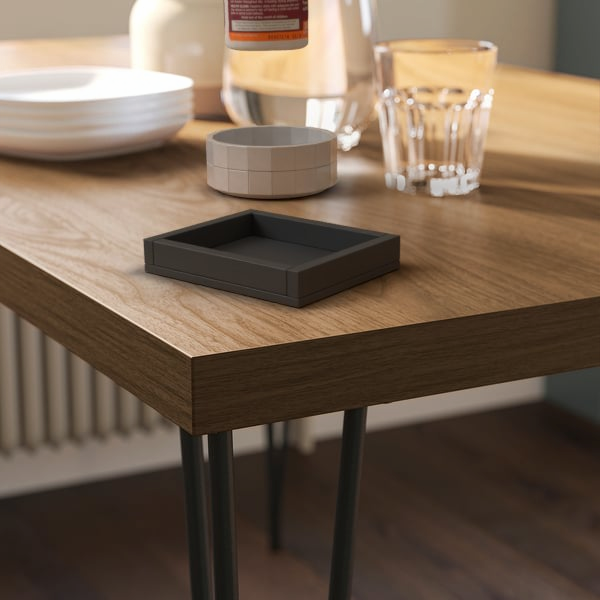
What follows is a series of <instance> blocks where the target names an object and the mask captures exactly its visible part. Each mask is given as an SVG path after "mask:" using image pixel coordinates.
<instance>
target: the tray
mask: <svg viewBox="0 0 600 600" xmlns="http://www.w3.org/2000/svg"><path fill="white" fill-rule="evenodd" d="M142 241H143V243H142V244H143V261H144V272H146V273H150V274H154V275H159V276H162V277H167V278H171V279H175V280H179V281H184V282H187V283H188V282H189V283H192V284H196V285H200V286H205V287H210V288H213V289H217V290H220V291H221V290H222V291H226V292H229V293H234V294H239V295H243V296H248V297H251V298H256V299H260V300H264V301H268V302H273V303H277V304H281V305H284V306H289V307H294V308H302V307H305V306H307V305H309V304H312V303H314V302H317V301H319V300H320V301H321V300H322V299H324V298H327V297H329V296H333V295H334V294H337V293H340V292H343V291H345V290H348V289H350V288H352V287H353V288H354V287H355V286H357V285H360V284H364V283H365V282H367V281H371V280H372V279H375V278H379V277H381V276H383V275H385V274H388V273H390V272H393V271H396V270H398V269H401V235H400V234H394V233H389V232H383V231H378V230H371V229H366V228H361V227H355V226H350V225H344V224H339V223H338V224H337V223H332V222H326V221H321V220H315V219H309V218H306V217H305V218H304V217H299V216H294V215H288V214H281V213H278V212H277V213H276V212H271V211H266V210H258V209H255V208H249V209H245V210H242V211H238V212H235V213H231V214H228V215H227V214H226V215H224V216H220V217H217V218H213V219H210V220H205V221H203V222H198V223H196V224H192V225H188V226H184V227H181V228H178V229H177V228H176V229H174V230H170V231H167V232H163V233H159V234H156V235H153V236H150V237H149V236H148V237H146V238H143V239H142Z"/></svg>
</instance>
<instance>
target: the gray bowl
mask: <svg viewBox="0 0 600 600" xmlns="http://www.w3.org/2000/svg"><path fill="white" fill-rule="evenodd" d="M205 153H206V180H207V181H206V183H207V186H209V187H211V188H213V189H214V190H216V191H218V192H219V193H223V194H225V195H229V196H232V197H239V198H244V199H245V198H246V199H258V200H259V199H260V200H261V199H262V200H265V199H266V200H270V199H271V200H272V199H274V200H275V199H277V200H278V199H291V198H292V199H294V198H301V197H309V196H312V195H316V194H320V193H322V192H324V191H325V190H327V189H330V188H332V187H333V186H335V185H336V184H337V183H338V135H337V133H336V132H334V131H331V130H329V129H326V128H320V127H314V126H307V125H305V126H304V125H295V124H294V125H292V124H291V125H287V124H286V125H284V124H267V125H266V124H265V125H247V126H238V127H237V126H236V127H228V128H224V129H219V130H214V131H213V132H211V133H208V134H206V137H205Z"/></svg>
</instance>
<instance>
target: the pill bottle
mask: <svg viewBox="0 0 600 600" xmlns="http://www.w3.org/2000/svg"><path fill="white" fill-rule="evenodd" d="M222 1H223V28H224V29H223V31H224V33H223V34H224V45H225V46H226V47H227V49H230V50H232V51H233V50H234V51H239V52H241V51H242V52H271V51H275V52H277V51H294V50H300V49H305V48H306V47H307V46H308V45H309V0H222Z"/></svg>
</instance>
